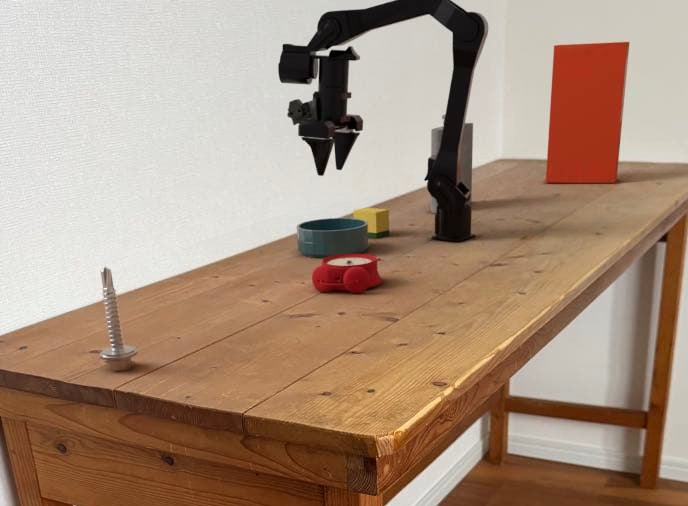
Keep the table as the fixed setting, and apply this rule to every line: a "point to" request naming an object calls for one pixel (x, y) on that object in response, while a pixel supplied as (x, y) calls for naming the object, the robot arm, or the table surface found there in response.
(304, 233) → the bowl
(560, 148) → the file binder
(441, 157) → the robot arm
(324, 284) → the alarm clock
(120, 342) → the screw
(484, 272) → the table surface
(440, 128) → the hip flask
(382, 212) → the sponge
